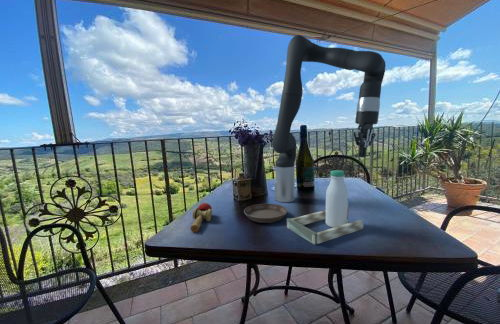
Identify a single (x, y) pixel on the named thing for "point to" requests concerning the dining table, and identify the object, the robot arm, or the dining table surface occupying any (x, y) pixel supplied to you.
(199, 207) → the kendama
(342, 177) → the milk bottle
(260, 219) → the plant saucer
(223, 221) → the dining table surface
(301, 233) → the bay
